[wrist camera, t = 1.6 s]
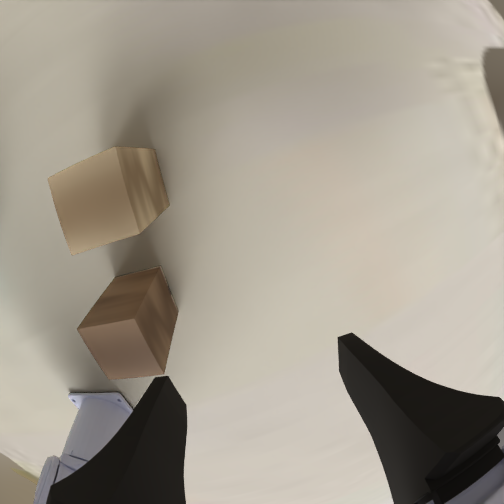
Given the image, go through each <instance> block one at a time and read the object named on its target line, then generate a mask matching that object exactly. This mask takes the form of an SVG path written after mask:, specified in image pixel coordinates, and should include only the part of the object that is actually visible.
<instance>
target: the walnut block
mask: <svg viewBox="0 0 504 504" xmlns="http://www.w3.org/2000/svg"><path fill="white" fill-rule="evenodd" d="M178 312H179V311H178V309H177V306H176V304H175V302H174V299H173V297H172V294H171V291H170V289H169V286H168V284H167V281H166V278H165V276H164V273H163V270H162V268H161V266H157V267H154V268H150V269H146V270H142V271H138V272H134V273H130V274H126V275H123V276H119V277H115V278H114V279H113V281H112V282H111V283H110V285H109V286H108V287H107V289H106V290H105V291H104V292H103V294H102V295H101V296H100V298H99V299H98V300H97V302H96V303H95V304H94V306H93V307H92V309H91V310H90V311H89V313H88V314H87V315H86V317H85V318H84V320H83V321H82V322H81V324H80V325H79V327H78V328H77V330H78V332H79V334H80V335H81V337H82V339H83V340H84V342H85V344H86V345H87V347H88V349H89V350H90V352H91V354H92V355H93V357H94V358H95V360H96V361H97V363H98V364H99V366H100V367H101V369H102V370H103V372H104V373H105V375H106V376H107V378H108V379H109V380H112V379H125V378H135V377H145V376H154V375H162V374H164V372H165V368H166V363H167V358H168V354H169V349H170V345H171V341H172V336H173V332H174V328H175V324H176V320H177V316H178Z"/></svg>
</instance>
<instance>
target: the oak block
mask: <svg viewBox="0 0 504 504" xmlns="http://www.w3.org/2000/svg"><path fill="white" fill-rule="evenodd" d="M48 182H49V186H50V190H51V194H52V197H53V201H54V204H55V208H56V211H57V214H58V218H59V221H60V224H61V227H62V230H63V233H64V236H65V238H66V241H67V244H68V247H69V249H70V252H71V255H75V254H78V253H81V252H84V251H87V250H90V249H93V248H96V247H99V246H102V245H105V244H109V243H112V242H115V241H118V240H121V239H125V238H128V237H131V236H134V235H138V234H140V233H141V232H142V231H143V230H144V229H145V228H146V227H147V226H149V225H150V224H151V223H152V222H153V221H154V220H155V219H156V218H157V217H158V216H159V215H160V214H161V213H162V212H163V211H164V210H165V209H166V208H167V207H168V206H170V204H169V201H168V197H167V194H166V190H165V187H164V183H163V179H162V176H161V172H160V168H159V164H158V160H157V156H156V153H155V149H147V148H134V147H117V146H115V147H113V148H110V149H108V150H105V151H103V152H101V153H98V154H96V155H94V156H92V157H89V158H87V159H85V160H83V161H81V162H79V163H76V164H74V165H72V166H70V167H68V168H66V169H64V170H62V171H60V172H58V173H57V174H55V175H53V176H51V177H49V178H48Z"/></svg>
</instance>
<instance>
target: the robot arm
mask: <svg viewBox="0 0 504 504" xmlns="http://www.w3.org/2000/svg"><path fill="white" fill-rule="evenodd" d="M338 354H339V372H340V375H341V377H342V380H343V382H344V385H345V387H346V390H347V392H348V394H349V395H350V397H351V399H352V401H353V403H354V405H355V406H356V408H357V410H358V412H359V414H360V415H361V417H362V419H363V421H364V423H365V424H366V426H367V428H368V430H369V432H370V434H371V436H372V439H373V441H374V444H375V446H376V449H377V451H378V454H379V457H380V460H381V462H382V465H383V468H384V471H385V474H386V477H387V480H388V484H389V487H390V491H391V494H392V498H393V502H394V504H504V446H502V448H501V449H500V447H499V446H498V443H499V442H500V439H499V438H498V436H497V434H498V433H499V432H500V431H501V430H502V428H503V427H504V401H503V400H502V399H501V398H500V397H493V396H484V395H476V394H471V393H466V392H462V391H458V390H454V389H451V388H448V387H445V386H442V385H439V384H436V383H433V382H431V381H429V380H426V379H424V378H422V377H420V376H418V375H416V374H414V373H412V372H410V371H408V370H406V369H404V368H403V367H401V366H399V365H398V364H396V363H394V362H393V361H391V360H390V359H388V358H387V357H385V356H384V355H382V354H381V353H379V352H378V351H376V350H375V349H373V348H372V347H371V346H369V345H368V344H367V343H365V342H364V341H363V340H361V339H360V338H359V337H357V336H356V335H355V334H353V333H349V334H346V335H343V336H340V337H338ZM68 397H69V399H70V400H71V401H72V402H73V403H74V404H75V406H76V407H77V408H78V409H79V411H78V413H77V415H76V418H75V420H74V423H73V425H72V428H71V431H70V433H69V436H68V439H67V441H66V444H65V447H64V450H63V452H62V455H61V457H60V458H58V457H57V456H55V455H53V456H50V457H48V458H47V460H46V462H45V464H44V467H43V469H42V472H41V475H40V478H39V481H38V484H37V488H36V492H35V499H34V503H33V504H186V500H185V490H184V458H185V446H186V435H187V409H186V404H185V402H184V401H183V399H182V398H181V396H180V395H179V393H178V391H177V390H176V388H175V387H174V385H173V383H172V382H171V380H170V378H169V377H168V376H163V377H155V378H154V380H153V381H152V383H151V384H150V386H149V387H148V389H147V390H146V392H145V393H144V395H143V396H142V398H141V400H140V401H139V403H138V404H137V405H136V407H135V408H134V410H133V409H132V408H131V406H130V405H129V404H128V403H127V401H126V400H125V399H124V398H123V396H122V395H121V394H120V393H117V392H113V393H69V395H68Z"/></svg>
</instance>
